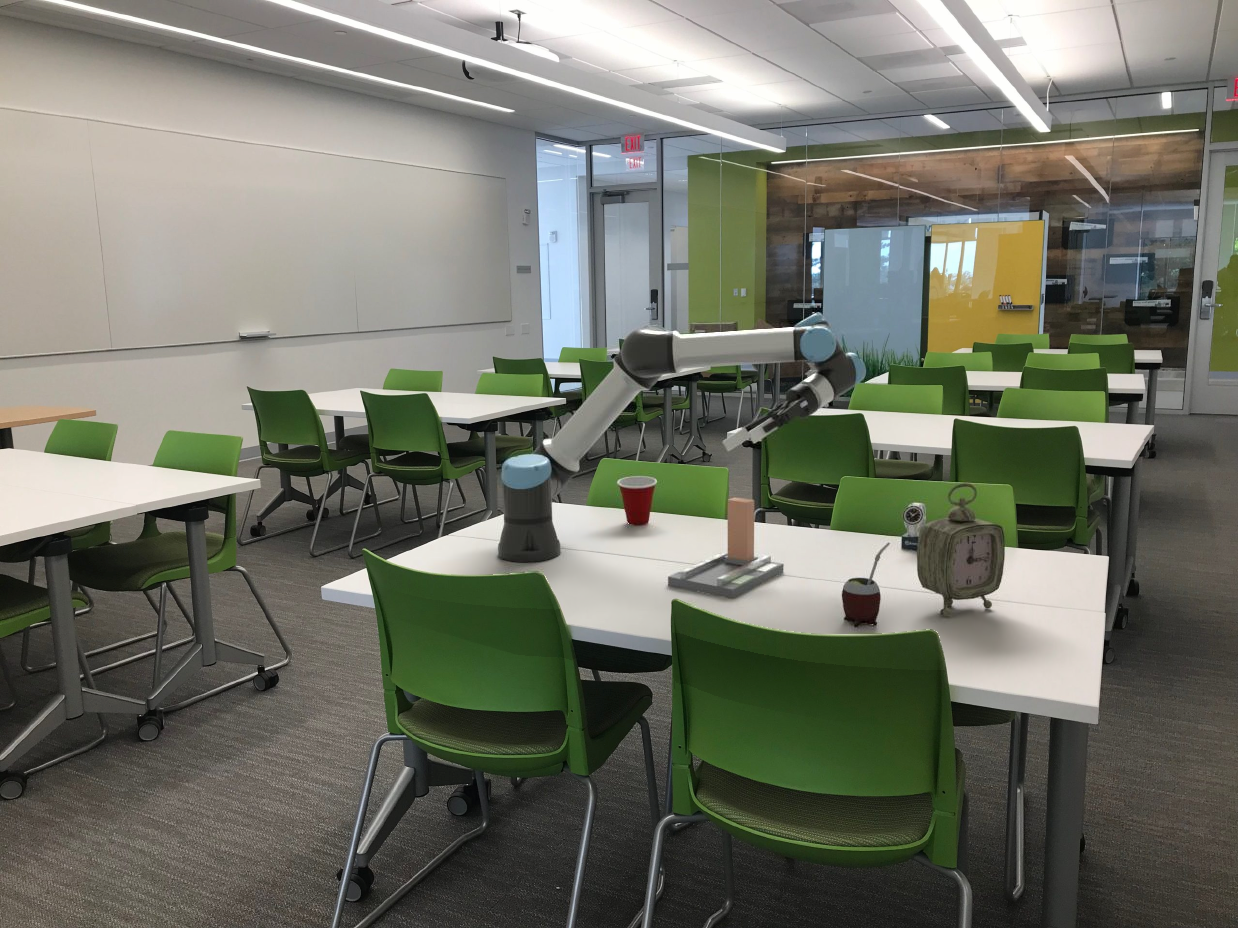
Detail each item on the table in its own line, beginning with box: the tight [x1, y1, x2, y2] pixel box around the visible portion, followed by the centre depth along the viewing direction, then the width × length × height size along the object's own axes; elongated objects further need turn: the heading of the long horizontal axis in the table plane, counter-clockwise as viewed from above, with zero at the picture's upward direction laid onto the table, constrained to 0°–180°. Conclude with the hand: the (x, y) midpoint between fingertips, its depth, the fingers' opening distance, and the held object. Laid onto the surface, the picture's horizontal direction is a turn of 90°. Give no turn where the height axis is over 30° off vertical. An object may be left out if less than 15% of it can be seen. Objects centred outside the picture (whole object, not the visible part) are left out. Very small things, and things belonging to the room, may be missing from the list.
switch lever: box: [724, 496, 759, 566], centre depth 210 cm, size 6×4×14 cm, turn 53°
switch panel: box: [667, 550, 785, 600], centre depth 207 cm, size 16×22×4 cm
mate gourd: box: [841, 542, 891, 628], centre depth 178 cm, size 8×8×15 cm
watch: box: [900, 502, 927, 552], centre depth 227 cm, size 6×8×11 cm
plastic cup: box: [616, 475, 658, 526], centre depth 257 cm, size 11×11×12 cm
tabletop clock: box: [916, 482, 1006, 618], centre depth 183 cm, size 14×9×25 cm, turn 114°
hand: (737, 442), depth 211 cm, fingers open, 13 cm apart
